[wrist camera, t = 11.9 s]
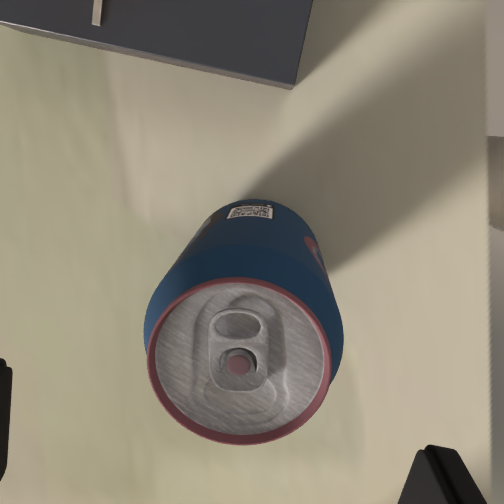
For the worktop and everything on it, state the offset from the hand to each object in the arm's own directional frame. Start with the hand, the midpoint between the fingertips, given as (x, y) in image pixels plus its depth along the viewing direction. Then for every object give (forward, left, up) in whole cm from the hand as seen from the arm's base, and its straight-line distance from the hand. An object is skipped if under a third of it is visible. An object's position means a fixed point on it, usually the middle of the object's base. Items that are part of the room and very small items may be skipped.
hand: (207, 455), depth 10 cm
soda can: (0, 0, -16) cm, 16 cm away
